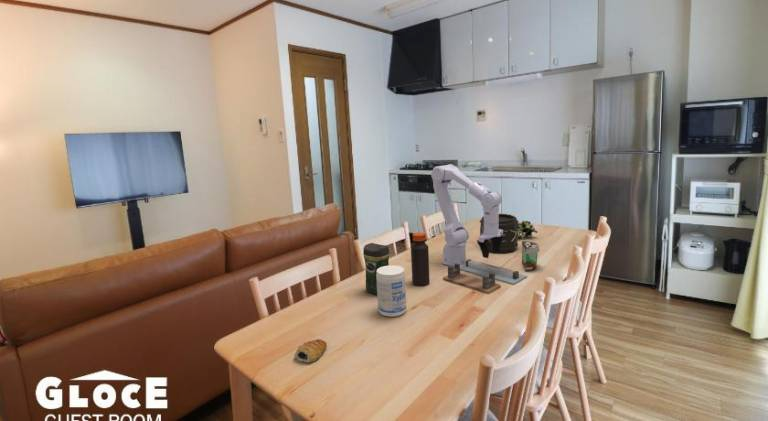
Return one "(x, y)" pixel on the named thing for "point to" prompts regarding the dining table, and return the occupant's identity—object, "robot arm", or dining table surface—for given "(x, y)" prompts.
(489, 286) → the wooden stand
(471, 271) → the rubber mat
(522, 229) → the green leafy bush
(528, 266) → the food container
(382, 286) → the supplement tub
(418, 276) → the vinegar
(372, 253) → the coffee jar
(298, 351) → the pastry
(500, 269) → the steel rail
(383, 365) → the dining table surface
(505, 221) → the wooden barrel
